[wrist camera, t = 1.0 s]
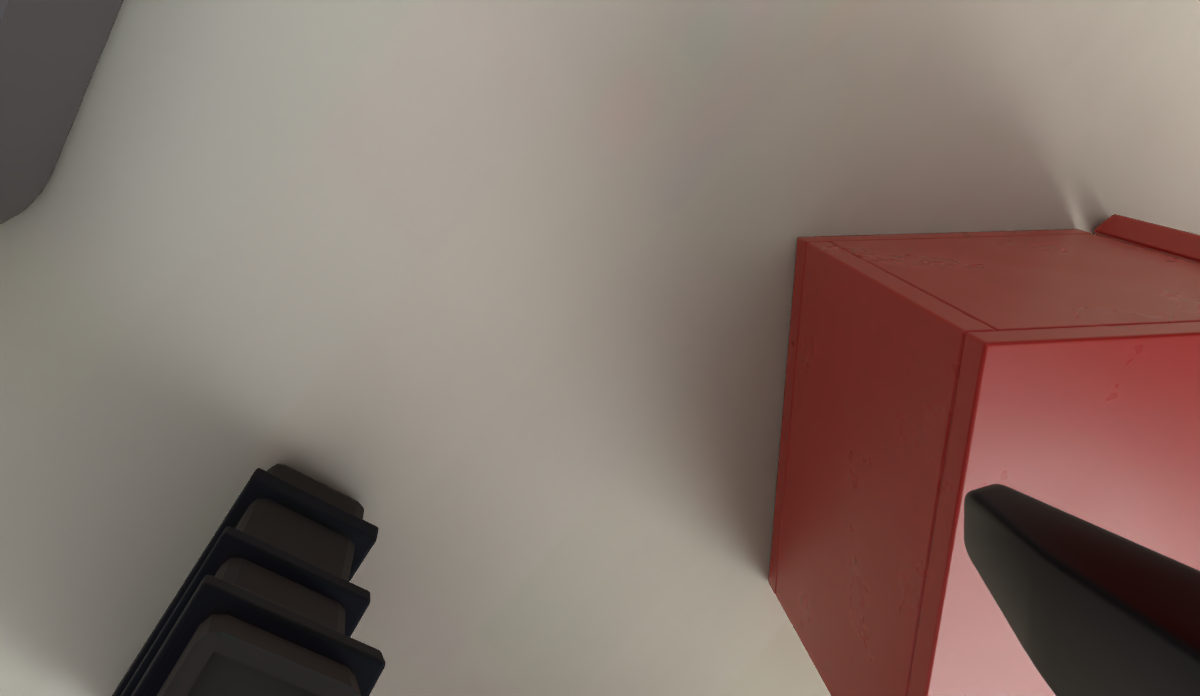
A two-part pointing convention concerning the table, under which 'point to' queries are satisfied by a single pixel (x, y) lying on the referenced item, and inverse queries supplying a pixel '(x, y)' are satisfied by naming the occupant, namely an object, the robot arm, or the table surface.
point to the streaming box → (43, 86)
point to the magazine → (268, 602)
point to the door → (1152, 237)
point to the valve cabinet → (971, 436)
